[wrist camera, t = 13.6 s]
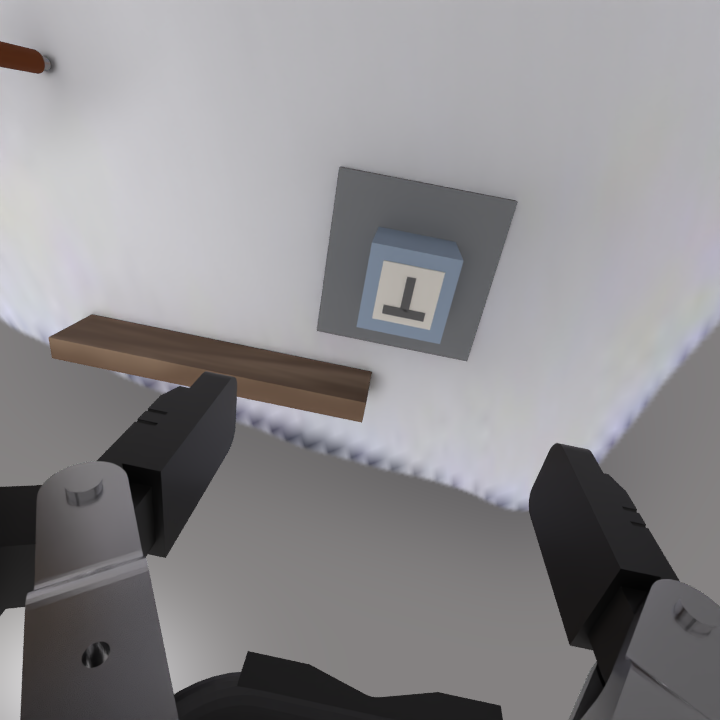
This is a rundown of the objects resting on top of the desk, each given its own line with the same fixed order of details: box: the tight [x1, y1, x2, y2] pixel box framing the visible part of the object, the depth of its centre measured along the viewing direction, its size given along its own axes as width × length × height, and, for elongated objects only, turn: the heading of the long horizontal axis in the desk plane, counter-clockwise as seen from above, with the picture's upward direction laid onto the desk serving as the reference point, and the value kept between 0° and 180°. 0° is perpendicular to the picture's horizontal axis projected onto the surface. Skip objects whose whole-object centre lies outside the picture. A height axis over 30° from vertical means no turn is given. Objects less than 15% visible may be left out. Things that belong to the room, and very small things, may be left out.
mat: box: [317, 167, 517, 361], centre depth 30 cm, size 11×11×1 cm
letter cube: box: [357, 227, 463, 344], centre depth 27 cm, size 5×5×5 cm
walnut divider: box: [49, 315, 372, 422], centre depth 32 cm, size 2×22×4 cm, turn 80°
